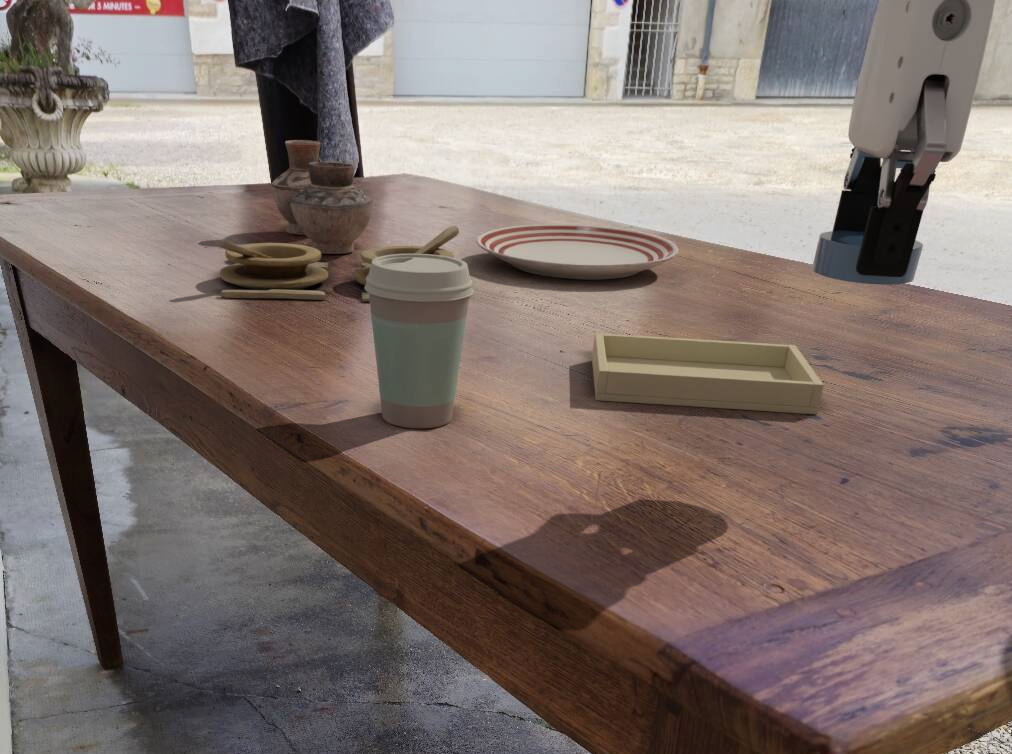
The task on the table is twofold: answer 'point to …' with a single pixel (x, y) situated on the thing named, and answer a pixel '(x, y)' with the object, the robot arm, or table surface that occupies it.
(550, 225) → the dinner plate
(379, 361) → the coffee cup
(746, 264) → the table surface
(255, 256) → the tableware set
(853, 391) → the table surface
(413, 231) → the table surface
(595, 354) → the serving tray
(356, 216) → the pottery
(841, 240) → the blue-grey disc
